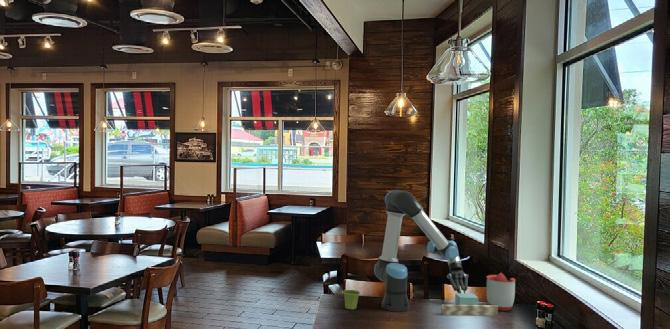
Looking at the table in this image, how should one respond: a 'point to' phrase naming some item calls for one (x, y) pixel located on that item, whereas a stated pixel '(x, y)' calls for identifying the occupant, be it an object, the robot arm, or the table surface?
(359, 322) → the table surface
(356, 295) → the plant pot
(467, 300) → the teal block
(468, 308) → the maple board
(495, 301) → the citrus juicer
